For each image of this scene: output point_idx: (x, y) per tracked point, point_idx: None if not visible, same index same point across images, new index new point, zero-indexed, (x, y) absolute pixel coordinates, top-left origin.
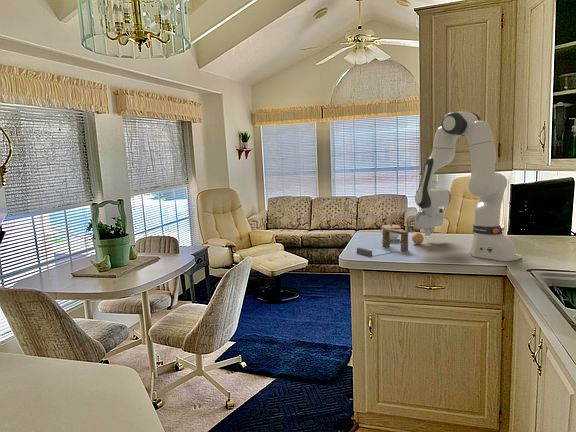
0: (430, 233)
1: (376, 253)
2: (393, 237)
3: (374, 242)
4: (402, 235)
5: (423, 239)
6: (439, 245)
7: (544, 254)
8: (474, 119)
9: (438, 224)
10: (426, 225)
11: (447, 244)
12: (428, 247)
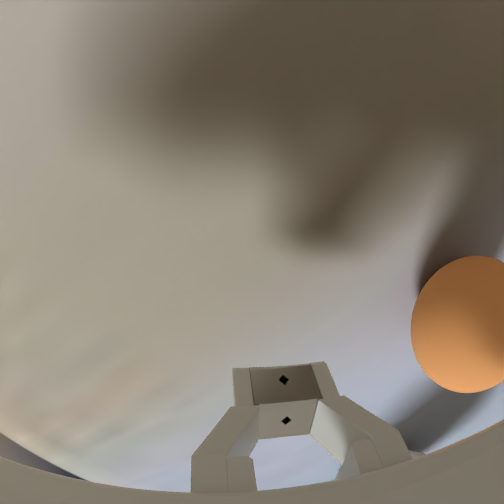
0: (254, 384)
1: None
2: (421, 454)
3: (479, 426)
4: None
5: (467, 270)
6: (346, 68)
7: None
8: None
9: (16, 493)
10: (496, 474)
11: (195, 31)
12: (497, 118)
